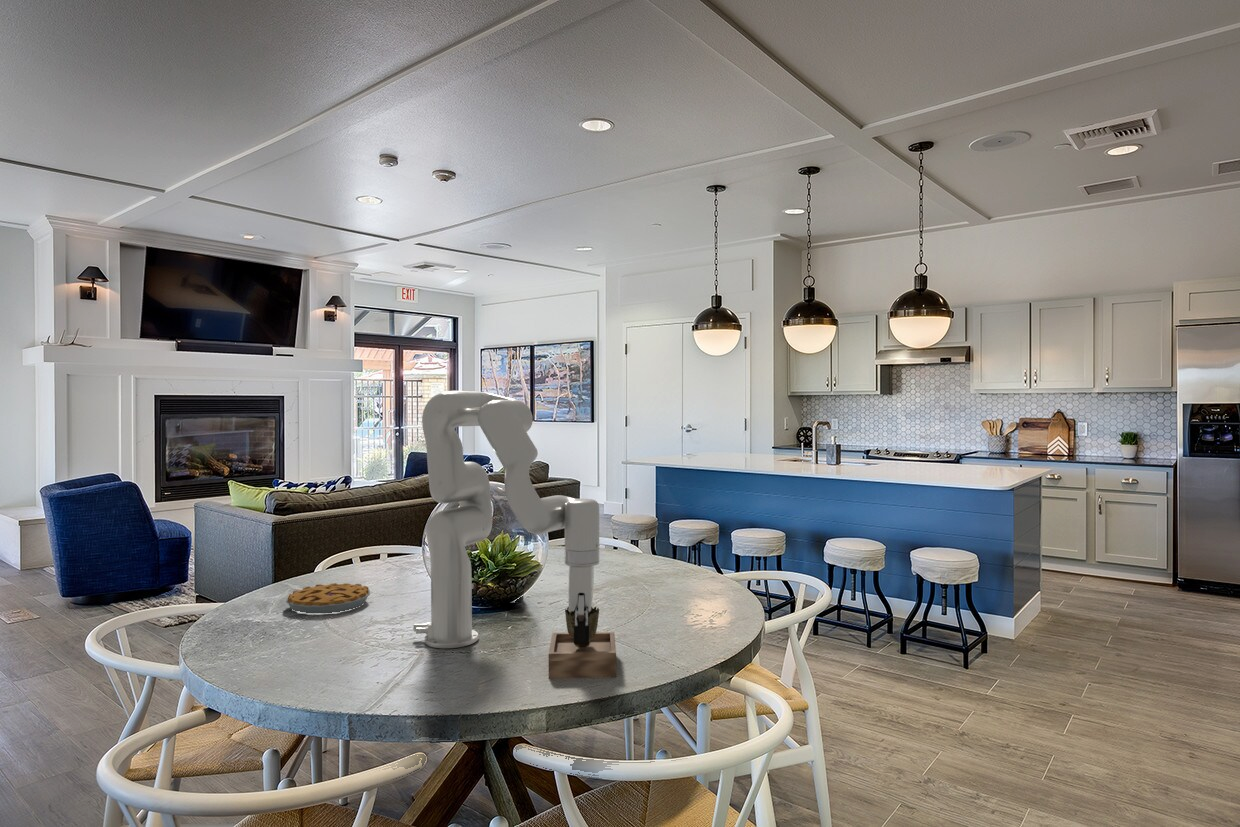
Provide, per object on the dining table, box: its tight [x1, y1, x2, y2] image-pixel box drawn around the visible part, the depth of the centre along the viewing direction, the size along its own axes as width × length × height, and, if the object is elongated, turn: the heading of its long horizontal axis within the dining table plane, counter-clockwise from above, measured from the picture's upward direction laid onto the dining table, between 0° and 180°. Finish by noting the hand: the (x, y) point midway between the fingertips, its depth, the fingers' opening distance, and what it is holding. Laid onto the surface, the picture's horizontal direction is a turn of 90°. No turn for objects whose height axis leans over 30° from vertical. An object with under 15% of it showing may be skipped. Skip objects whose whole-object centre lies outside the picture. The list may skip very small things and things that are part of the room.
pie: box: [285, 582, 371, 613], centre depth 208 cm, size 22×22×5 cm
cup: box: [564, 606, 600, 648], centre depth 159 cm, size 8×7×8 cm
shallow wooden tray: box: [548, 631, 617, 679], centre depth 159 cm, size 14×14×6 cm
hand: (582, 637), depth 159 cm, fingers closed on cup, 6 cm apart
